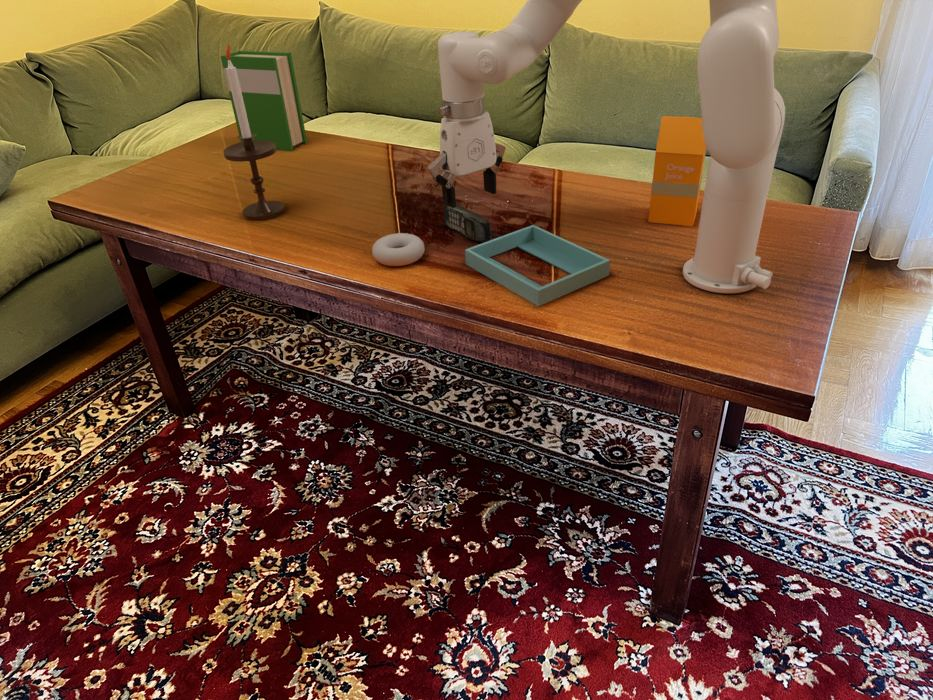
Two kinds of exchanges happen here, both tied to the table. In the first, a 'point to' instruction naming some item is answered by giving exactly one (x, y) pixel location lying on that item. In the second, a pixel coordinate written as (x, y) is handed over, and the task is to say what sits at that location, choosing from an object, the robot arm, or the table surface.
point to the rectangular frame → (547, 248)
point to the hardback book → (268, 96)
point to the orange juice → (677, 171)
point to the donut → (398, 249)
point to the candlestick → (250, 153)
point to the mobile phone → (467, 223)
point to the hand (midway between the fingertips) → (470, 198)
